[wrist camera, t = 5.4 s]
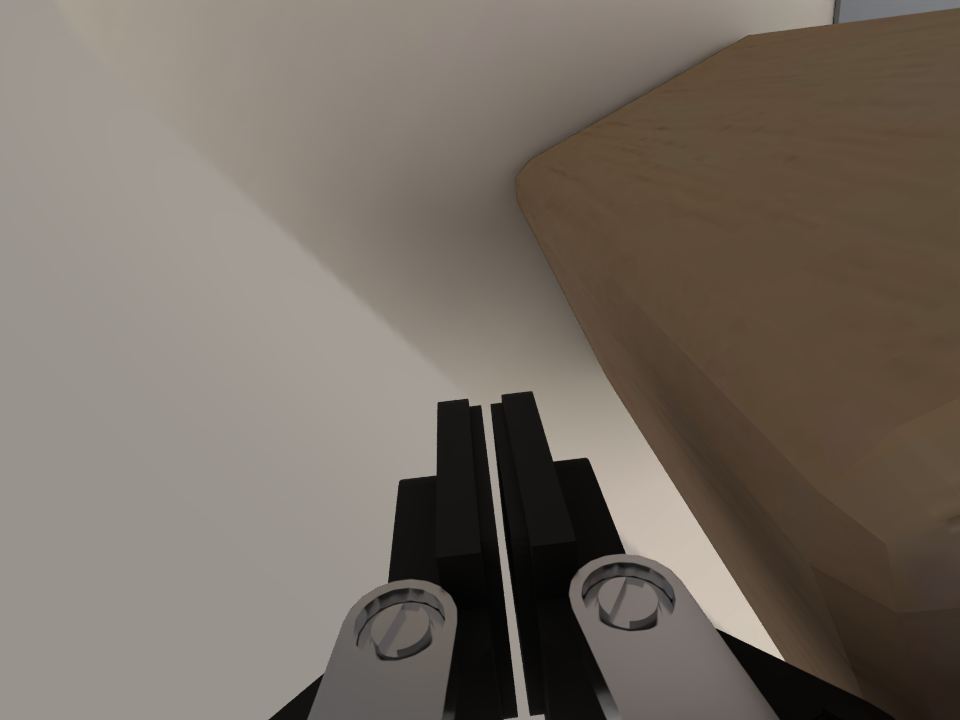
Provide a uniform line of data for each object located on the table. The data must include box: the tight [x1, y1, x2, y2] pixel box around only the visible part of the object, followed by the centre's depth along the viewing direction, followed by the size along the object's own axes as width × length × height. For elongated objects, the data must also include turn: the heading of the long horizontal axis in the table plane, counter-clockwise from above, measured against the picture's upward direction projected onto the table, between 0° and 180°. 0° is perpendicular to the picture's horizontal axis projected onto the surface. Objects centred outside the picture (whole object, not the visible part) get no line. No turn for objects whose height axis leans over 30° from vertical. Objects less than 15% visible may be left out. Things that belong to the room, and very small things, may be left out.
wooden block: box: [515, 8, 960, 720], centre depth 15 cm, size 10×10×20 cm
